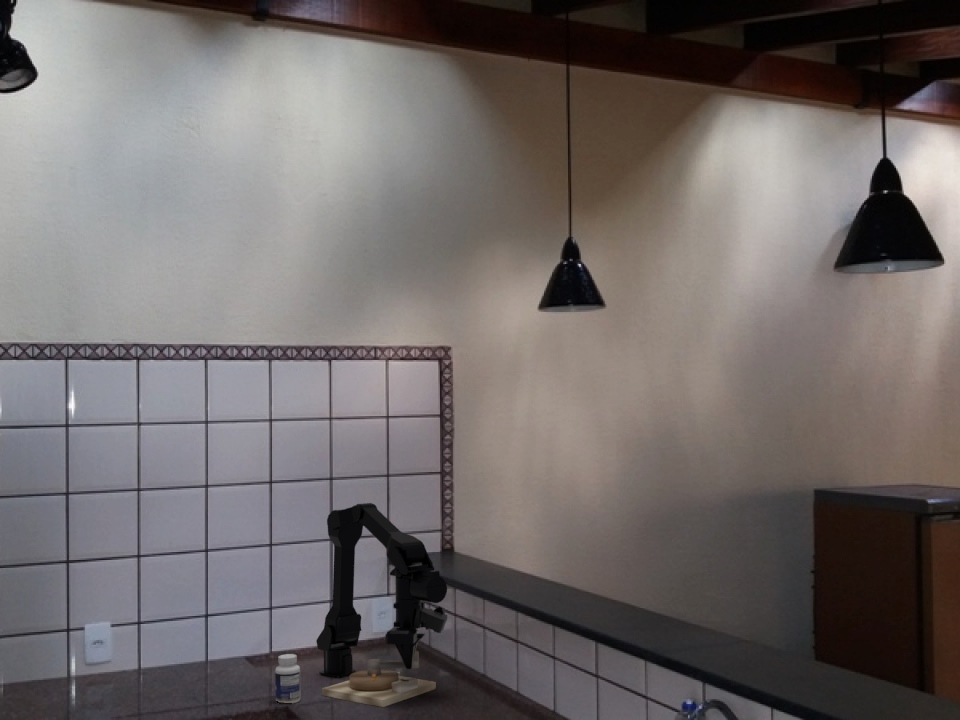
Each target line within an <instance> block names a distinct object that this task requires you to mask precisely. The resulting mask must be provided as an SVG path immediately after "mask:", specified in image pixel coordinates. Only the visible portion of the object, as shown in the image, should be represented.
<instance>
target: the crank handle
mask: <svg viewBox="0 0 960 720" xmlns="http://www.w3.org/2000/svg"><path fill="white" fill-rule="evenodd" d="M419 655H420V652H419V650H416V652H415V656H414V661H413V665H412V668H411V669H419V668H420V657H419ZM366 666H367V668H366V669H364V670H358V671H356V672H355V673H352V674H349V680H350V687H351V688H354V689H358V690H384V689H389V688H392V683H393V682H396V681H399V676H400V675H399V672H397V671H395V670H391V669H406V667H405V664H404V662H403V660H402V659H401V660H398V659H397V660H396V659H395V660H381V659H378V658H373V659H368V660H367V665H366Z"/></svg>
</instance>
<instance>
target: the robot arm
mask: <svg viewBox="0 0 960 720" xmlns="http://www.w3.org/2000/svg"><path fill="white" fill-rule="evenodd" d="M326 524H327V535H328V537H329V539H330V541H331V542H332V544H333V547H334V548H333V550H334V551H333V575H332V576H333V578H332V579H333V580H332V606H331V607H330V609H329V611H328V612H327V614H326V616H325V619H324V624H323V625H324V626H323V629H322V631H320V634H319V635H318V637H317V638H316V641H315V642H316V645H317V646H316V647H317V649H318V650H321V651H322V652H323V670H322V671H319V675H321V676H327V677H333V678H341V677H345V676H348V675H351V674H352V673H355V672H357V670H356V669H353V654H352V648H353V647H358V643H359V639H360V635H361V631H362V625H361V623H362V615H361V613H358V612H357V611H356V608H355V607H354V590H355V589H354V588H355V587H354V586H355V560H356V559H355V557H356V556H355V555H356V546H357V544H358V542H359V540H360V539H361V537H362V535H363V529H364V528H365V529H366V530H367V531H368V532H369V533H370V534H371V535H372V536H373V537H374V538H376V539H377V541H379V542H380V543H381V544H382V546H384V548H385V550H386V553H385V555H386V557H387V558H388V560H389V561H390V563H391V564H392V565H393V566H394V568H393V569H392V570H391V571H390V572H389V575H390V576H392V577H395V582H394V583H395V602H393V606H392V607H393V609H395V621H393V626H392V628H391V629H389V630H388V632H387V633H386V634H385V639H384V640H385V644H387V645H395V647H396V649H397V651H398V653H399V656H400V657H401V660H403V662H404V664H405V667H406V668H405V669H407V670H411V669H413V668H412V665H413V661H414V656H415V652H416V651H417V647H418V643H419V641H421V640H422V639H423V638H424V636H425V635H426V634H425V633H420V632H419V629H421V628H425V630H427V631H429V630H432V631H433V632H434V633H437V634H440V633H442V631H444V629H445V626H446V623H447V621H448V614H446V610H445V607H443V606H440V605H438V606H437V607H436V608H435V609H432V608H430V609H429V608H427V607H426V602H428V603H433V604H439V603H440V602H442V601H443V600H444V599H445V598H446V596H447V592H448V585H447V582H446V580H445V579H444V578H443V577H442V576H440V573H441V572H440V570H437V569H436V570H435V567H434V565H433V561H432V560H431V558H430V555H429V553H428V551H427V549H426V545H425V544H424V542H422V540H420V539H418V538H417V537H416V536H414V535H411V534H408V533H405V532H403V531H401V530H400V529H399V528H398V527H396V526H395V524H393V523H392V522H391V521H390V520H389V519H388V518H387V517H386V516H385V515H384V514H383V513H382V512H381V511H380V510H379V509H378V507H377V505H376V504H374V503H372V502H366V503H365V502H364V503H357V504H355V505H353V506H350V507H347V508H344V509H334V510H332V511H330V513H329V514H328V516H327V519H326Z"/></svg>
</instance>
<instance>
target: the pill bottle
mask: <svg viewBox="0 0 960 720" xmlns="http://www.w3.org/2000/svg"><path fill="white" fill-rule="evenodd" d="M277 659H278V660H277V661H278V662H277V663H278V664H279V665H278V666H276V668H275V672H274V674H275V677H274V679H275V680H274V682H275V683H274V684H275V686H274V687H275V688H274V689H275V702H276V701H278V702H284V703H292V704H296V703H298V702H300V701H301V668H300V667H301V666H299V665H298V664H297V661H298V657H297V655H296V654H294V653H286V654H281V655H279V656H278V658H277Z"/></svg>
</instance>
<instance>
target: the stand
mask: <svg viewBox="0 0 960 720" xmlns="http://www.w3.org/2000/svg"><path fill="white" fill-rule="evenodd" d="M436 683H437V682H436V681H431V680H426V679H420V678H419V679H418V678H417V677H412V676H411V677H410V676H409V677H408V676H407V677H406V676H402V675H399V681H396V682H393V683H392V688H389V689H384V690H358V689H354V688H351V687H350V679H349V680H346V681H342V682H339V683H336V684H333V685H330V686H329V685H328V686H325V687H322V689H321V695H322V696H324V697H329V698H334V699H339V700H344V701H348V702H354V703H358V704H363V705H364V704H365V705H368V706H369V705H370V706H377V707H380V708H385V707H388V706H390V705H393V704H396V703H398V702H402V701H404V700H405V701H406V700H408V699H410V698H414V697H416V696H419V695H422V694H424V693H425V694H426V693H428V692H431V691H434V690H436V688H437V687H436Z"/></svg>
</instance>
